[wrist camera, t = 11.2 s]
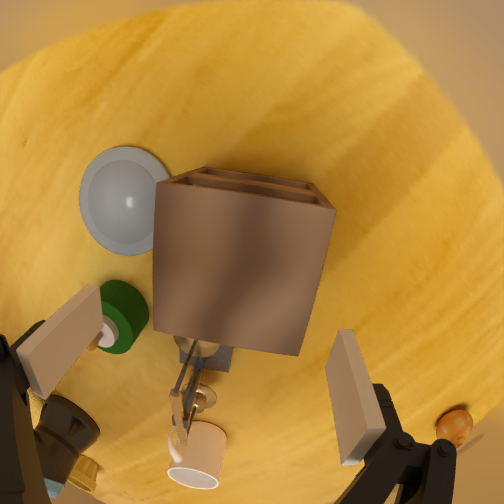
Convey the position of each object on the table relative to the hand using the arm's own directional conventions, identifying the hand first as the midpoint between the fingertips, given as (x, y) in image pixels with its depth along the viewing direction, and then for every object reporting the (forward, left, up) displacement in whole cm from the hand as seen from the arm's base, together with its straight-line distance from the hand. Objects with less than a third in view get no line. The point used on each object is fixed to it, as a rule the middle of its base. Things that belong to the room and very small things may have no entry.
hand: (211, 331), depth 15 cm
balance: (-3, -17, -19) cm, 26 cm away
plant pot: (-38, -77, -19) cm, 88 cm away
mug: (-4, -38, -19) cm, 43 cm away
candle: (-16, -14, -19) cm, 29 cm away
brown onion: (+45, -31, -19) cm, 58 cm away
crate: (0, 0, -19) cm, 19 cm away
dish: (-15, +1, -19) cm, 24 cm away
